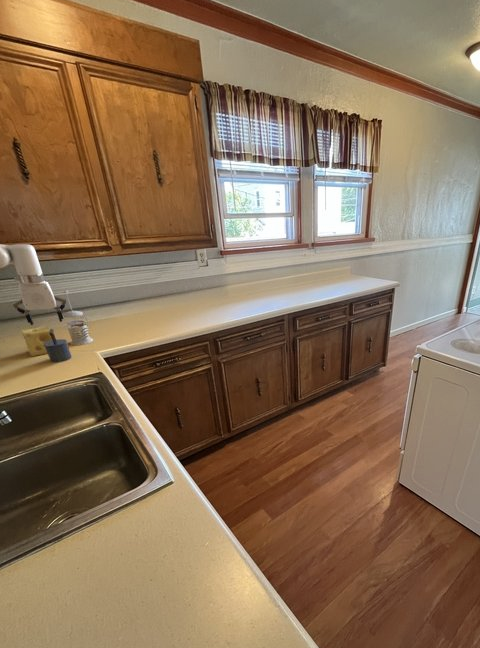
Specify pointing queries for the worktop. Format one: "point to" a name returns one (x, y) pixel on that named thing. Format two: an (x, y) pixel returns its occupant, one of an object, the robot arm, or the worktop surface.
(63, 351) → the pot
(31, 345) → the cheese
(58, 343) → the lid
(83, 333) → the french press
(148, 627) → the worktop surface
